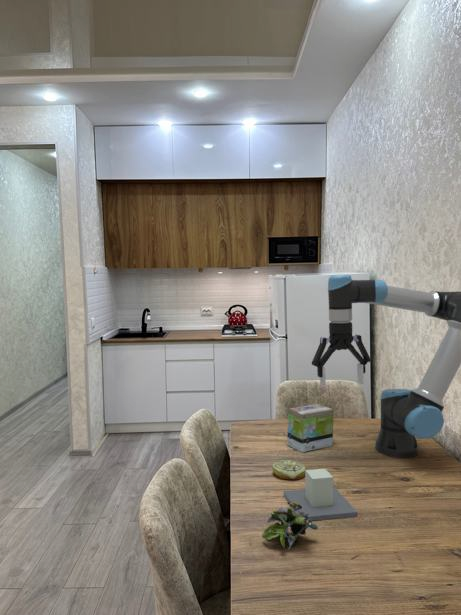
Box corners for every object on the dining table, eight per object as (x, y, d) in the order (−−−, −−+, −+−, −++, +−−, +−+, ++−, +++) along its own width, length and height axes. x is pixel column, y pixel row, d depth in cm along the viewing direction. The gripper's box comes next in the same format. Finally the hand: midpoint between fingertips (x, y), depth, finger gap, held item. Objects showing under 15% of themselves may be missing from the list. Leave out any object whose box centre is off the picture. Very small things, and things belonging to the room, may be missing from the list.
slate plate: (334, 490, 144) (334, 486, 144) (357, 516, 128) (357, 511, 128) (283, 494, 141) (283, 490, 141) (300, 521, 125) (300, 517, 125)
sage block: (324, 495, 138) (325, 468, 137) (332, 505, 132) (333, 477, 131) (305, 497, 137) (305, 470, 136) (312, 506, 131) (312, 478, 130)
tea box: (303, 453, 174) (303, 414, 173) (286, 445, 183) (286, 408, 182) (333, 446, 182) (334, 408, 181) (316, 438, 190) (316, 402, 189)
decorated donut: (296, 484, 148) (296, 473, 148) (267, 476, 154) (267, 465, 154) (310, 473, 157) (310, 461, 157) (281, 466, 163) (281, 455, 163)
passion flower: (294, 556, 119) (322, 518, 119) (291, 574, 108) (321, 532, 108) (259, 525, 122) (286, 488, 122) (252, 540, 111) (282, 499, 111)
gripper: (369, 318, 162) (370, 379, 164) (300, 322, 157) (302, 385, 158) (380, 320, 155) (381, 384, 156) (309, 325, 149) (311, 390, 151)
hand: (341, 385), depth 157 cm, fingers open, 13 cm apart
